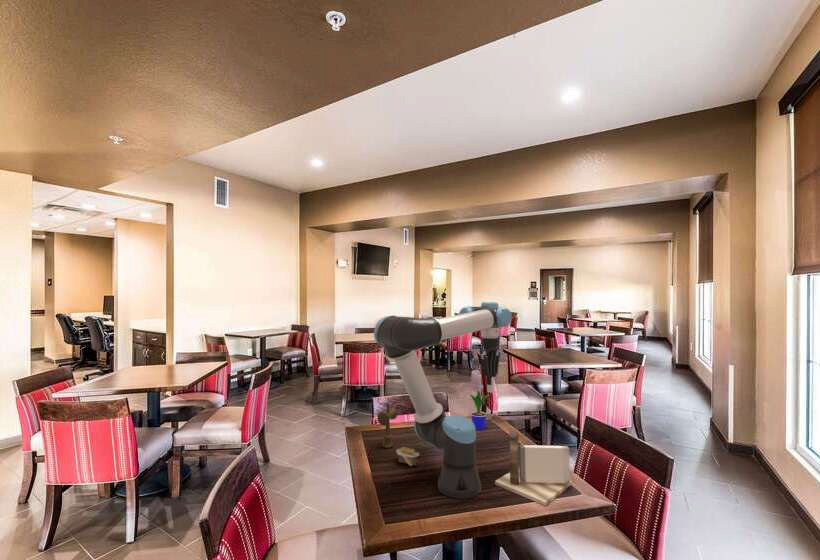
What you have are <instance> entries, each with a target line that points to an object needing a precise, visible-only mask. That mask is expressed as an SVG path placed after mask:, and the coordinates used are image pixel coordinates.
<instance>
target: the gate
mask: <svg viewBox="0 0 820 560" xmlns="http://www.w3.org/2000/svg"><path fill="white" fill-rule="evenodd" d="M518 448H519V476H520V481H521V482H541V483H570V481H571V474H570V473H571V471H570V470H571V469H570V468H571V467H570V448H569V447H568V445H539V444H538V445H534V444H533V445H531V444H529V445H528V444H526V445H525V444H520V445H519V444H518Z"/></svg>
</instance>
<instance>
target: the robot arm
mask: <svg viewBox="0 0 820 560" xmlns="http://www.w3.org/2000/svg"><path fill="white" fill-rule="evenodd" d="M512 317H513V316H512V312H511V311H510V309H509V308H507V307H502V306H499V303H498V302H497V301H482V302H481V303H480V306H464V307H462V308H461V309H460V310H459V313H458V314H455V315H449V316H444V317H441V318H436V317H432V316H430V317H424V318H421V317H411V316H397V315H386V316H384V317H382V318H380V319H379V320H378V321H377V323H376V324H375V325H374V326H375V327H374V329H373V337H374V341H375V342H376V343H377V345H379V346H380V347H381V348H382V347H383V349H384V351H385V354H386V356H387V358H388V359H390V360H393V361H394V364H395V366H396V369H397V371H398V373H399V376H400V378H401V380H402V384H403V385H404V387H405V390H406V392H407V395H408V397H409V399H410V401H411V404H412V405H413V408H414V411H415V413H414V423H413V428H414V431H415V434H416V436H417V437H418V438H419V439H420V440H421V441H422V442H424V443H426V444H429V445H431V446H432V447H434V448H436V449H438V450H441V452H442V466H441V469H440V472H439V475H438V480H437V487H438V488H437V489H438V490H439V492H440V493H441V494H442V495H444V496H447V497H449V498H454V499H461V500H462V499H464V500H465V499H471V498H475V497H477V496H478V495H479V494H480V493H481V492H482V481H481V479H480V475H479V472H478V469H477V432H476V430H475V425H474V423H473V422H472V419H470V418H467V417H465V416H462V415H461V416H460V415H458V414H457V415H455V414H453V415H447V414H446V411H445V410H444V407H443V406H442V404H441V403H439V402H437V400H436V399H435V396H434V393H433V391H432V388H431V386H430V383H429V382H428V379H427V376H426V374H425V372H424V369H423V367H422V365H421V362H420V360H419V357H418V355H417V352H416V351H417V350H421V349H425V348H429V347H432V346H437V345H439V344H441V342H442V341H443V340H448V339H453V338H456V337H461V336H465V335H467V334H473V333H475V332H480V333H481V334H480V335H481V346H482V347H483V352H482V354H481V353H480V354H479V358H480V361H481V369H482V376H483V377H486V386H487V387H486V389H487V390H486V392H488V393H492V394H494V393H495V378H496V377H497V375H498V374H499V373H498V372H499V365H500V364H499V363H500V357H501V352H500V351H499V350H498V347H499V346H500V338H499V336H500V330H499V329H500V328H506V327H508V326H510V324H511V322H512Z"/></svg>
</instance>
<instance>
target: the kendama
mask: <svg viewBox="0 0 820 560" xmlns="http://www.w3.org/2000/svg"><path fill="white" fill-rule="evenodd" d="M389 403H390V402H389V401H387V402H386V411H380V412H379V413H378V414H377V419H376V420H377V422H378V424H379V425H380V426H384V427H385V428H384V434H383V435H382V438H383V442H382V444H381V447H383V448H385V449H390V448H393V447H394V443H393V441H392V439H393V434H392V433H391V425H390V424H391V423H390V421H391V420H395V419H397V417H398V411H397V409H396V408H395V407H391V406H390V407H389Z"/></svg>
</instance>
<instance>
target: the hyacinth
mask: <svg viewBox="0 0 820 560" xmlns="http://www.w3.org/2000/svg"><path fill="white" fill-rule="evenodd" d="M482 376H483V374H482V375H481V372H480V371H479V369H474V370H472V371H471V377H470V379H471V380H470V382H471V386H472V387H471V388H472V389H473V391H474V392H476V393H477V394H476V396H474V395H473V394H469V396H470V397H471V399H472V401H473V402H474V404H475V407H476V411H471V412H470V416H471V421H472V422H473V423H474V425H475V431H484V430H485V429H486V424H487V413H486V412H483V411H481V408H482V405H483V402H484V401H485V400H486V399H487V398H488V397H489V396H490V393H488V394H487V395H483V396H482V393H481V392H480V391H482V390H483V389H484V385H483V384H482Z"/></svg>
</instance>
